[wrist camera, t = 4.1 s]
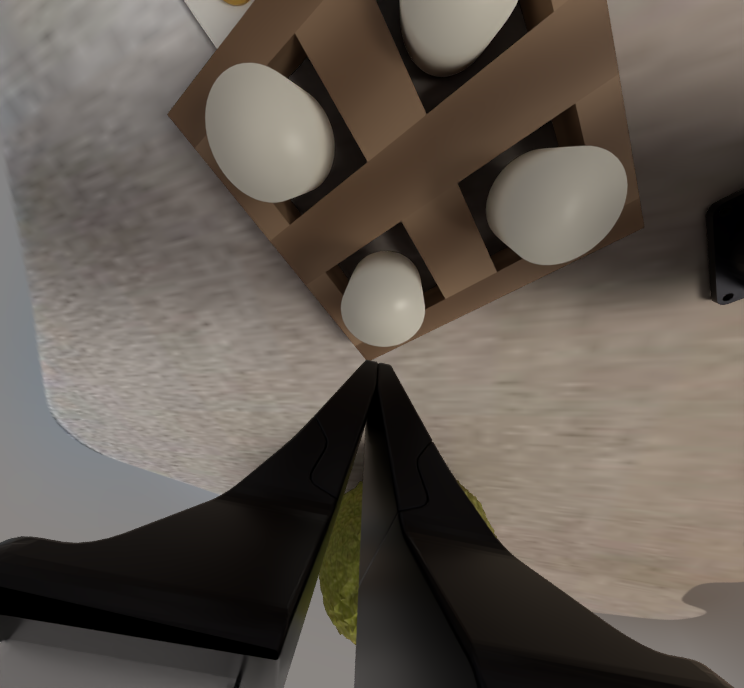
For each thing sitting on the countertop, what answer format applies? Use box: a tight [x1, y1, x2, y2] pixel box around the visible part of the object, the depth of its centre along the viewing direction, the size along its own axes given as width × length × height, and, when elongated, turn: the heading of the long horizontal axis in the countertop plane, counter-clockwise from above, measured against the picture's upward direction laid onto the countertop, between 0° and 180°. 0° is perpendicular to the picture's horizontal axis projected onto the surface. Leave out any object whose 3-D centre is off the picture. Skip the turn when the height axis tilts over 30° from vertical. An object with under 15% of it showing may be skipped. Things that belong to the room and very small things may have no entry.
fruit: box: [319, 480, 497, 645], centre depth 26 cm, size 16×14×15 cm
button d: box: [205, 63, 335, 203], centre depth 11 cm, size 4×4×3 cm
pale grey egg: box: [486, 146, 627, 265], centre depth 12 cm, size 4×4×3 cm
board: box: [167, 0, 644, 360], centre depth 14 cm, size 16×16×2 cm
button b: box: [341, 251, 425, 347], centre depth 15 cm, size 4×4×3 cm
